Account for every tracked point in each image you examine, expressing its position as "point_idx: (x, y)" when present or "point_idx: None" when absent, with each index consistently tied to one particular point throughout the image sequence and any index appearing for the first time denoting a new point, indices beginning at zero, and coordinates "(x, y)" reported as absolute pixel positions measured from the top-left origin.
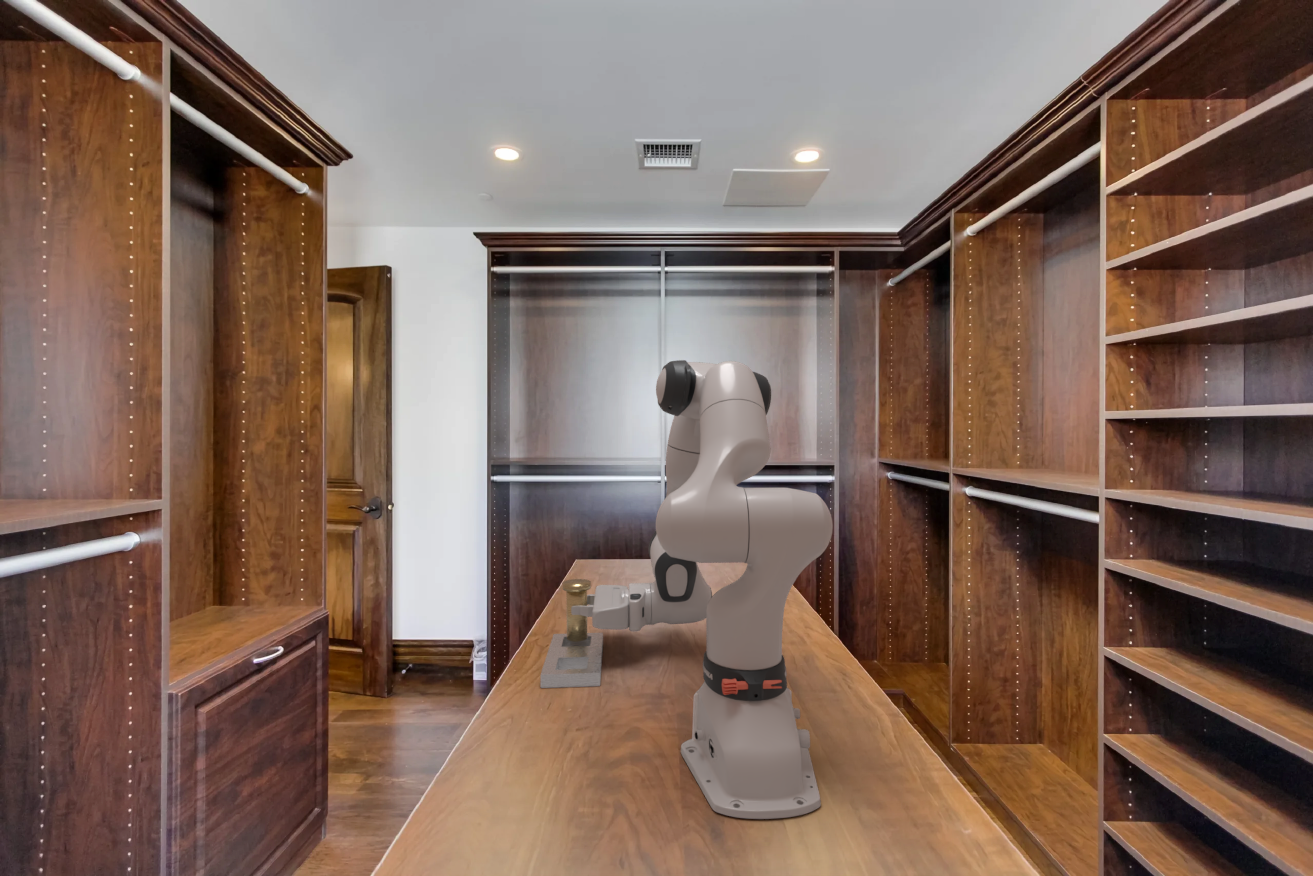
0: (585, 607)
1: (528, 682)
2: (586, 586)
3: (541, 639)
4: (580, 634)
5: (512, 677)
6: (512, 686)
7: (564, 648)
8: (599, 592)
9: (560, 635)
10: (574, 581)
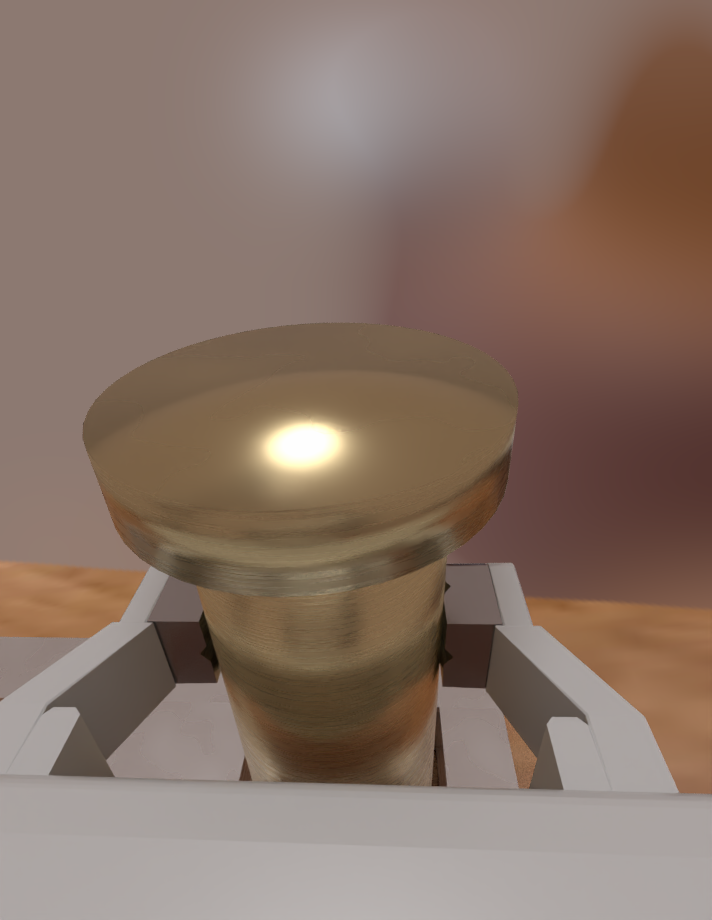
0: (32, 682)
1: (44, 626)
2: (108, 494)
3: (563, 621)
4: None
5: (131, 572)
6: (45, 582)
7: (219, 723)
8: (599, 883)
9: None
10: (364, 368)
